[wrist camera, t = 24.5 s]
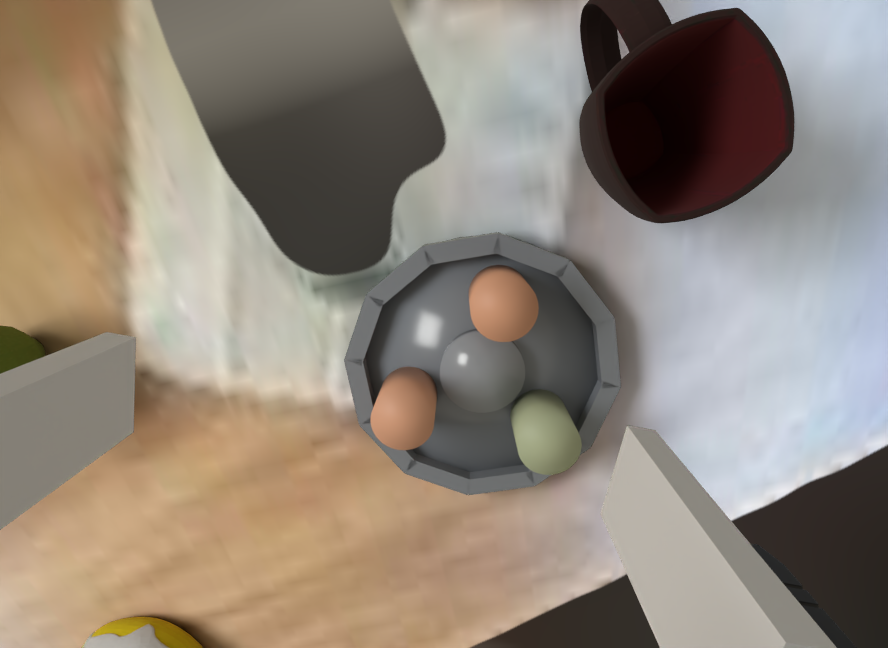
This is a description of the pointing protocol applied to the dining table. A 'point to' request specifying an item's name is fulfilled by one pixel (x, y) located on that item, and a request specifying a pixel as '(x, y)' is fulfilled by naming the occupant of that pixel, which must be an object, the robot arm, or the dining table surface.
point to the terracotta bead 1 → (405, 409)
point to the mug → (681, 108)
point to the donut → (140, 635)
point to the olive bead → (544, 432)
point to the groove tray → (483, 358)
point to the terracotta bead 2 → (502, 304)
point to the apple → (17, 348)
